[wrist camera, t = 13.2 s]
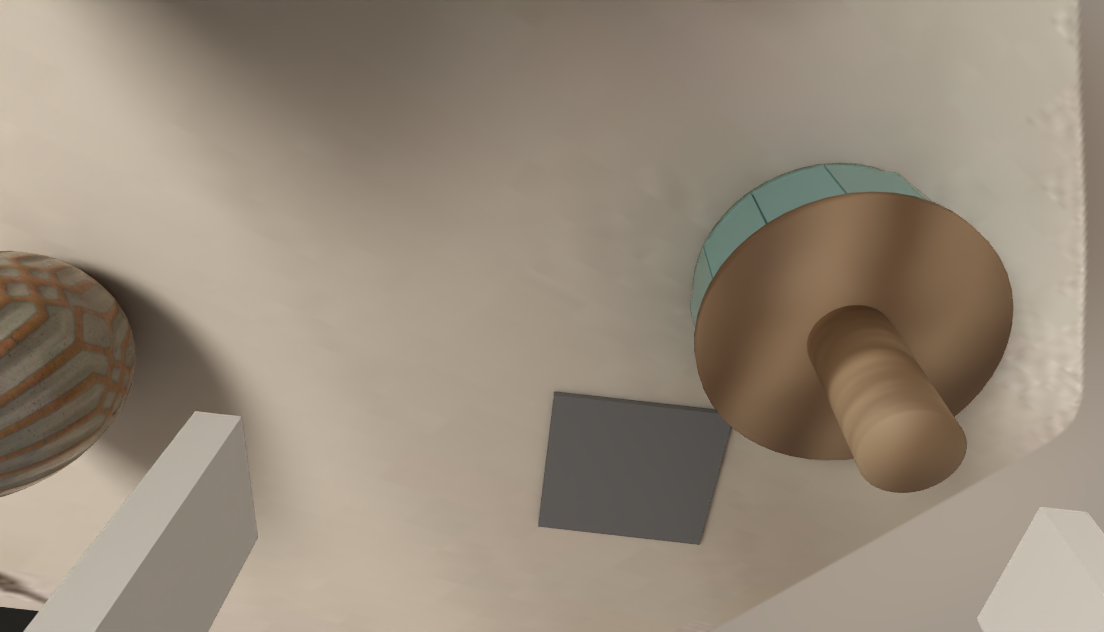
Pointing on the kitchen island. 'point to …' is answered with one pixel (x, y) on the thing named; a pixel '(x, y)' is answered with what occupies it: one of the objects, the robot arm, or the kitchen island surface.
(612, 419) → the mat
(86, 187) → the kitchen island surface
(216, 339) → the kitchen island surface
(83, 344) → the vase
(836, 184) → the bowl
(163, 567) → the robot arm
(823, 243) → the lid
